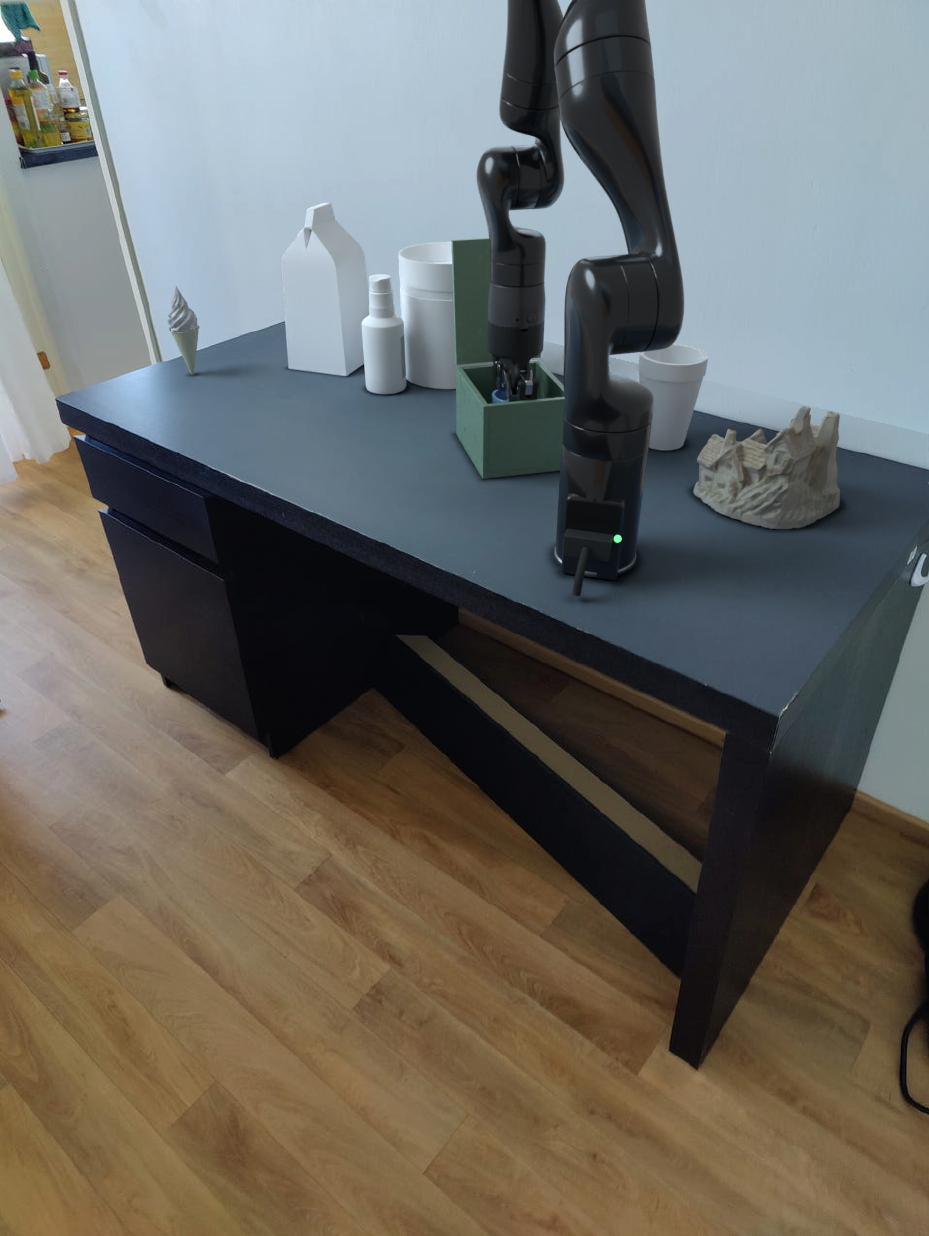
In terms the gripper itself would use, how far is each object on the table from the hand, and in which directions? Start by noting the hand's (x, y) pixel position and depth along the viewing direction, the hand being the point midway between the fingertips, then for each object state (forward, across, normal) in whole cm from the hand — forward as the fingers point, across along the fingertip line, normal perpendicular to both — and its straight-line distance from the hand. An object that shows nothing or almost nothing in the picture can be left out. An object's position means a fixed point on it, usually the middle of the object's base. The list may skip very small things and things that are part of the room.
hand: (512, 435), depth 126 cm
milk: (+3, -46, -20) cm, 51 cm away
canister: (+3, -35, -1) cm, 35 cm away
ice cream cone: (+3, -46, -45) cm, 64 cm away
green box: (+3, 0, 0) cm, 3 cm away
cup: (+1, 0, 0) cm, 1 cm away
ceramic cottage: (+3, +22, +28) cm, 36 cm away
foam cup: (+3, +2, +22) cm, 23 cm away
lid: (-16, -9, 0) cm, 19 cm away
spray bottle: (+3, -31, -13) cm, 33 cm away
